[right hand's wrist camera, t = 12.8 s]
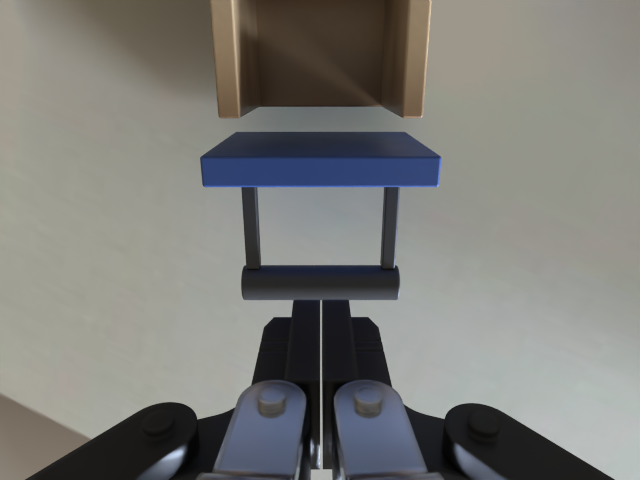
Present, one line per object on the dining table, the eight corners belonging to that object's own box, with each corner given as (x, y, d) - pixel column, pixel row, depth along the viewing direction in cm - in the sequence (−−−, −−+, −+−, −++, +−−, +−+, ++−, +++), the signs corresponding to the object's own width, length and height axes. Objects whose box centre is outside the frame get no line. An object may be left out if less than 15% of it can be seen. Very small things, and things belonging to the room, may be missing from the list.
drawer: (398, 254, 27) (426, 321, 20) (242, 254, 27) (214, 321, 20) (432, -289, 18) (504, -519, 11) (208, -289, 18) (137, -519, 11)
